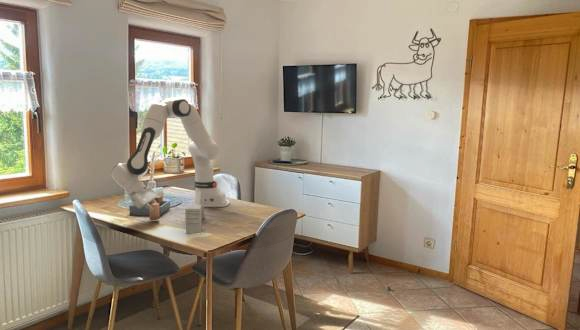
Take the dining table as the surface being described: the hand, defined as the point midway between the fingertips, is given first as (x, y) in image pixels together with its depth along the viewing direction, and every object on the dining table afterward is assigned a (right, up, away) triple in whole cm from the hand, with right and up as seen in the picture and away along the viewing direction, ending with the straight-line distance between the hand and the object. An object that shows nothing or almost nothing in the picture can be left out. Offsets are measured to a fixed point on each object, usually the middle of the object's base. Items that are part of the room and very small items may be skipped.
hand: (155, 208), depth 232 cm
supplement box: (+23, -10, -13) cm, 28 cm away
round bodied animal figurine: (+19, -7, +6) cm, 21 cm away
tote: (-9, -4, +19) cm, 22 cm away
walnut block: (-5, -3, +19) cm, 20 cm away
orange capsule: (-1, -5, +1) cm, 5 cm away
